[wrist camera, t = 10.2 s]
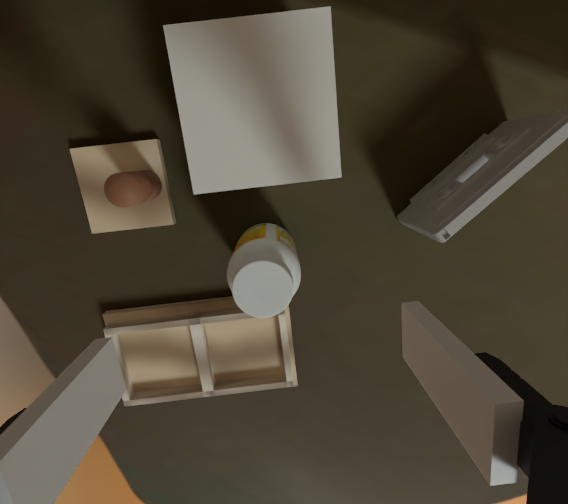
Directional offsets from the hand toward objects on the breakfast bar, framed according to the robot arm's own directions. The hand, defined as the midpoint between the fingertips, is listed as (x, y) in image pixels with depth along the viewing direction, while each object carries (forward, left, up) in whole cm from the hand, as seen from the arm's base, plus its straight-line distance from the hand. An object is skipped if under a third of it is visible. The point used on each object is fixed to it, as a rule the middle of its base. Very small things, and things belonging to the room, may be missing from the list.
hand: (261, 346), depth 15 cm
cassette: (-5, +17, -16) cm, 24 cm away
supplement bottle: (0, 0, -16) cm, 16 cm away
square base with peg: (-7, -11, -16) cm, 21 cm away
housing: (-11, +1, -16) cm, 20 cm away
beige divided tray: (+9, -7, -16) cm, 20 cm away
